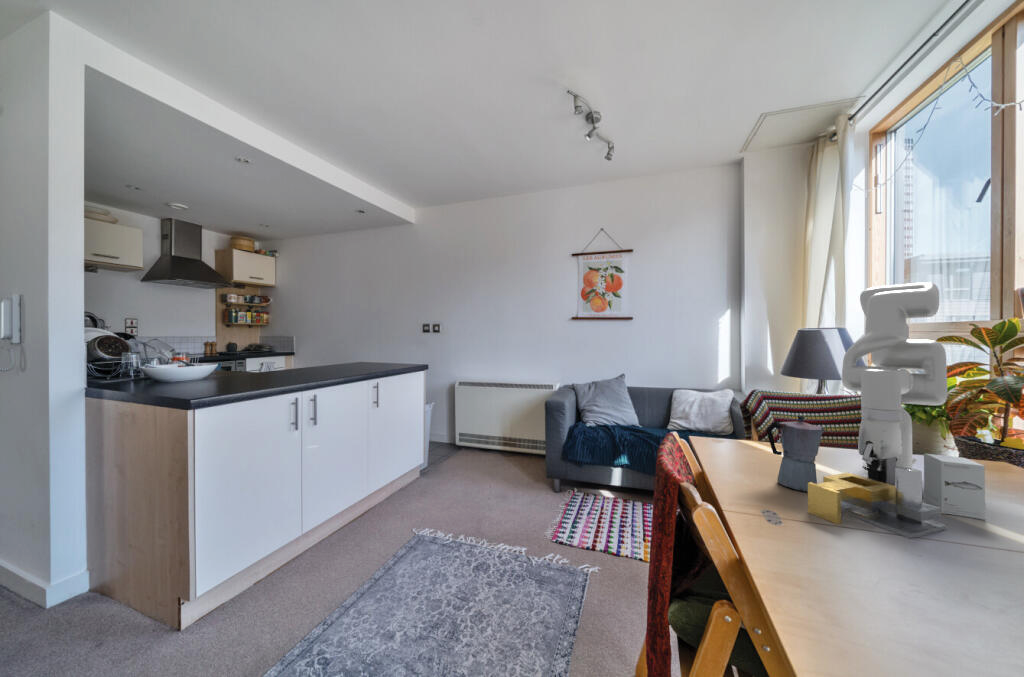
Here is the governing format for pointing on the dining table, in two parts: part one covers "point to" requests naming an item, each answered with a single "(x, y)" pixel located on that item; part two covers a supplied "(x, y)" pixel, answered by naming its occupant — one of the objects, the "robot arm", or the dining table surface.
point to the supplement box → (955, 485)
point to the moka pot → (797, 452)
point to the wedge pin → (888, 469)
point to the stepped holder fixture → (876, 502)
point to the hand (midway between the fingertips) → (881, 482)
